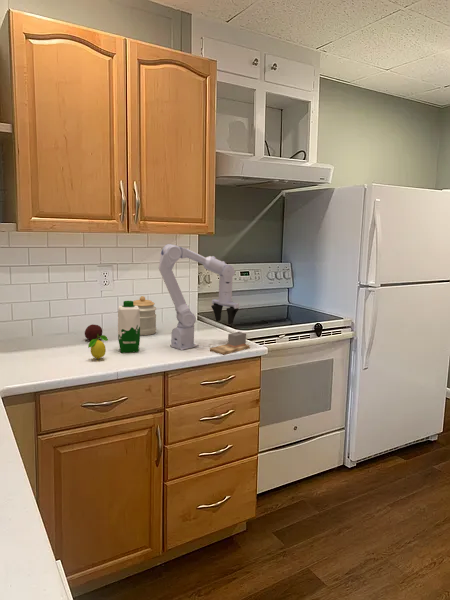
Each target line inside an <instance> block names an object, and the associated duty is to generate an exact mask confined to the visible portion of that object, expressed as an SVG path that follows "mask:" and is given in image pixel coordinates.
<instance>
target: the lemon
mask: <svg viewBox="0 0 450 600" xmlns="http://www.w3.org/2000/svg"><path fill="white" fill-rule="evenodd" d="M99 337H100V338H99V339H92V340H89V342H88V348H90V354H91V356H92V357H93V358H95V359H96V360H100V358H101V359H102V358H103V357H104V356H105V355H106V352H107V349H106V345H105V344H104V342H103V341H105V342H106V341H107V342H108V341H109V339H108V337H107V335H105V334H102V335H101V336H99ZM100 339H101V340H100ZM102 340H103V341H102Z"/></svg>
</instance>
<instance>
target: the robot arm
mask: <svg viewBox="0 0 450 600" xmlns="http://www.w3.org/2000/svg"><path fill="white" fill-rule="evenodd" d="M159 254H160V257H159V265H158V271H159V273H160V275H161V277H162V279H163V282H164V284H165V286H166V287H165V288H166V289H167V291H168V293H169V296H170V299H171V301H172V303H173V305H174V309H175V312H176V320H177V321H178V323H177V325H176V327H174V328H172V330H171V333H170V334H171V335H170V337H171V339H170V341H171V344H170V347H172V348H174V349H177V350H181V351H183V350H187V349H188V350H189V349H191V348H196V347H199V345H198V344H195V323H196V321H197V318H196V315H195V314H194V313H193V312H192V311H191V309H190V307H189V306H188V304H187V302H186V300H185V297H184V295H183V292H182V290H181V288H180V285H179V283H178V281H177V279H176V276H175V274H174V271H173V268H174V266H175V264H176V263H177V262H178V261H179V260H180V259H190V260H192V261H194V262H196V263H199V264H201V265H202V266H203V269H205V270H207V271H209V272H212V273H214V274H216V275H219V281H218V299H211V309H212V311H213V313H214V318H215V322H220V321H221V319H222V311H223V307H227V308H225V309H226V312H227V324H228V325H233V323H234V320H235V317H236V314H237V313H238V312H239V309H240V308H239V306H240V305H239V303H237V302H234V301H233V299H232V297H233V277H234V276H235V273H236V271H235V268H234V267H233V265H231V264H227V263H226V261H225V260H220V259H217V257H216V256H214V255H212V256H211V255H209V256H206V257H205V256H203V255H202V254H199V253H198V252H196V251H194V250H191V249H189V248H186V247H182V246H178V245H177V244H171V243H168V244H165V245H164V246H163V247H162V249H161V250H160V253H159Z"/></svg>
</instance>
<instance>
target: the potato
mask: <svg viewBox="0 0 450 600" xmlns="http://www.w3.org/2000/svg"><path fill="white" fill-rule="evenodd" d="M101 335H103V328H102V327H101V325H98V324H94V323H93V324H90V325H88V326H87V327H86V329H85V331H84V336H85V339H87V340H89V341H91V340H92V339H97V340H100V339H101V338H100V337H99V336H101Z"/></svg>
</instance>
